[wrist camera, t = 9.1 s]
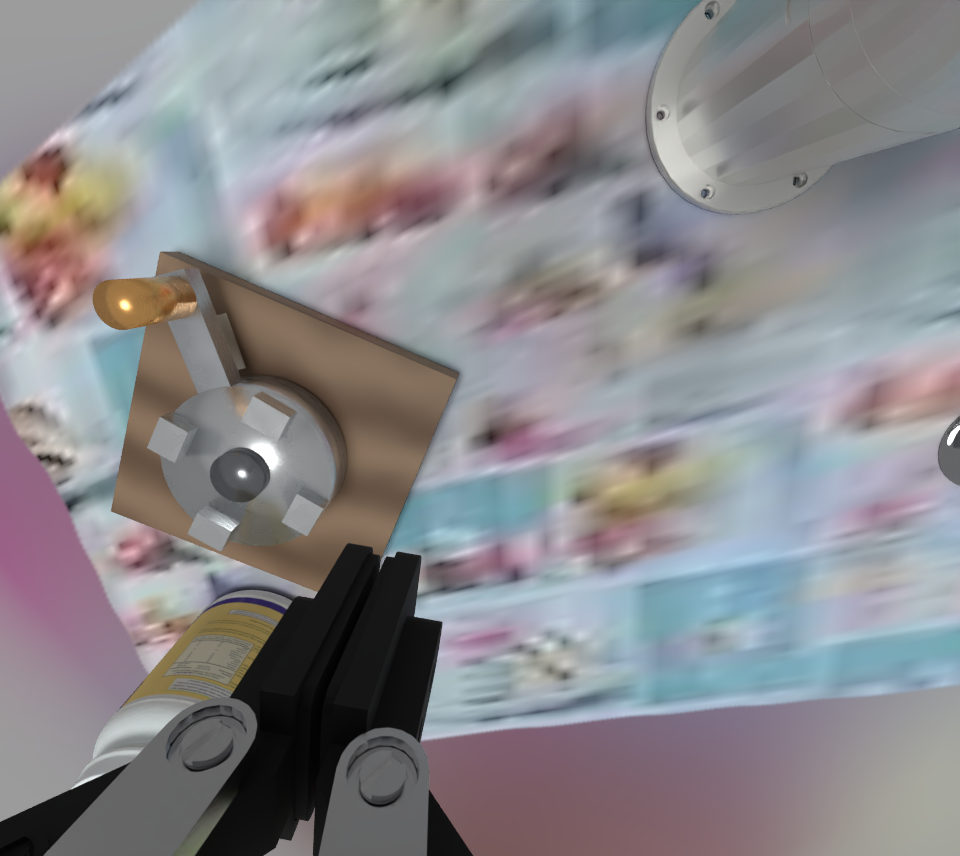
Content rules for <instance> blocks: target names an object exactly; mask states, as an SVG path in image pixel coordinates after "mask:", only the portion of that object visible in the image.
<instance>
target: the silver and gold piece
mask: <svg viewBox="0 0 960 856" xmlns="http://www.w3.org/2000/svg"><path fill="white" fill-rule="evenodd" d="M93 305H94V308H95V311H96V313H97V314H98V316H99V317H100V319H101V320H102V321H103V322H104V323H106V324H107V325H108V326H110V327H112V328H115V329H118V330H127V329H132V328H137V327H142V326H148V325H153V324H158V323H163V322H168V324H169V326H170V328H171V331H172V333H173V335H174V338H175V340H176V343H177V345H178V347H179V350H180V352H181V355H182V357H183V359H184V362H185V364H186V366H187V369H188V371H189V374H190V376H191V378H192V381H193V383H194V385H195V388H196V390H197V393H198V394H197V395H195V396H193V397H191V398H190V399H188V400H187V401H185V402H184V403H183V404H182V405H181V406H179V407H178V408H177V409H176V410H175V412H172V411H171V412H169V413H167V414H165V415H163V416H160V418H159V420H158V422H157V425H156V427H155V430H154V432H153V435H152V437H151V439H150V442H149V444H148V447H147V448H148V449H150V450H152V451H153V452H155V453H157V454H159V455H160V456H161V465H162V469H163V473H164V477H165V480H166V482H167V485H168V487H169V489H170V491H171V493H172V494H173V496H174V498H175V499H176V501H177V502H178V503H179V505H180V506H181V507H182V508H183V510H184V511H185V512H186V513H187V514H188V515H189V516H190V517H191V518H192V519H193V520H194V521H193V523H192V525H191V527H190V529H189V531H188V535H190V536H192V537H194V538H196V539H198V540H200V541H202V542H203V543H205V544H207V545H209V546H211V547H213V548H215V549H216V550H218V551H220V552H221V551H222V550H223V549H224V548H225V547H226V546H227V545H228V544H229V543H230V541H232V542H235V543H239V544H243V545H250V546H271V545H277V544H282V543H285V542H288V541H290V540H293V539H295V538H297V537H299V536H300V535H302V534H304V535H305V536H308V535H309V533H310V532H311V531H312V529H313V528H314V526H315V524H316V523H317V521H318V519H319V518H320V516H321V515H322V513H323V512H324V511H325V509H326V508H327V507H328V505H329V504H330V502H331V501H332V500H333V498H334V497H335V496H336V494H337V493H338V491H339V489H340V487H341V485H342V483H343V480H344V477H345V472H346V466H347V454H346V447H345V443H344V439H343V436H342V433H341V431H340V428H339V426H338V424H337V423H336V421H335V419H334V417H333V416H332V415H331V413H330V412H329V411H328V409H327V408H326V407H325V406H324V405H323V404H322V403H321V402H320V401H319V400H318V399H317V398H316V397H315V396H313V395H312V394H311V393H309V392H308V391H307V390H305V389H304V388H302V387H300V386H298V385H296V384H294V383H292V382H290V381H287V380H284V379H281V378H277V377H273V376H266V375H248V376H241V377H240V374H239V372H238V369H237V366H236V364H235V361H234V359H233V356H232V354H231V351H230V348H229V346H228V343H227V341H226V338H225V336H224V333H223V330H222V328H221V325H220V323H219V320H218V318H217V315H216V312H215V310H214V307H213V305H212V302H211V300H210V297H209V294H208V292H207V289H206V287H205V284H204V282H203V279H202V276H201V274H200V271H199V269H198V268H191V269H181V270H177V271H174V272H170V273H166V274H162V275H158V276H155V277H150V278H134V279H118V280H106V281H103V282H101V283H100V284H99V285H98V286H97V287H96V288H95V290H94V293H93Z"/></svg>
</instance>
